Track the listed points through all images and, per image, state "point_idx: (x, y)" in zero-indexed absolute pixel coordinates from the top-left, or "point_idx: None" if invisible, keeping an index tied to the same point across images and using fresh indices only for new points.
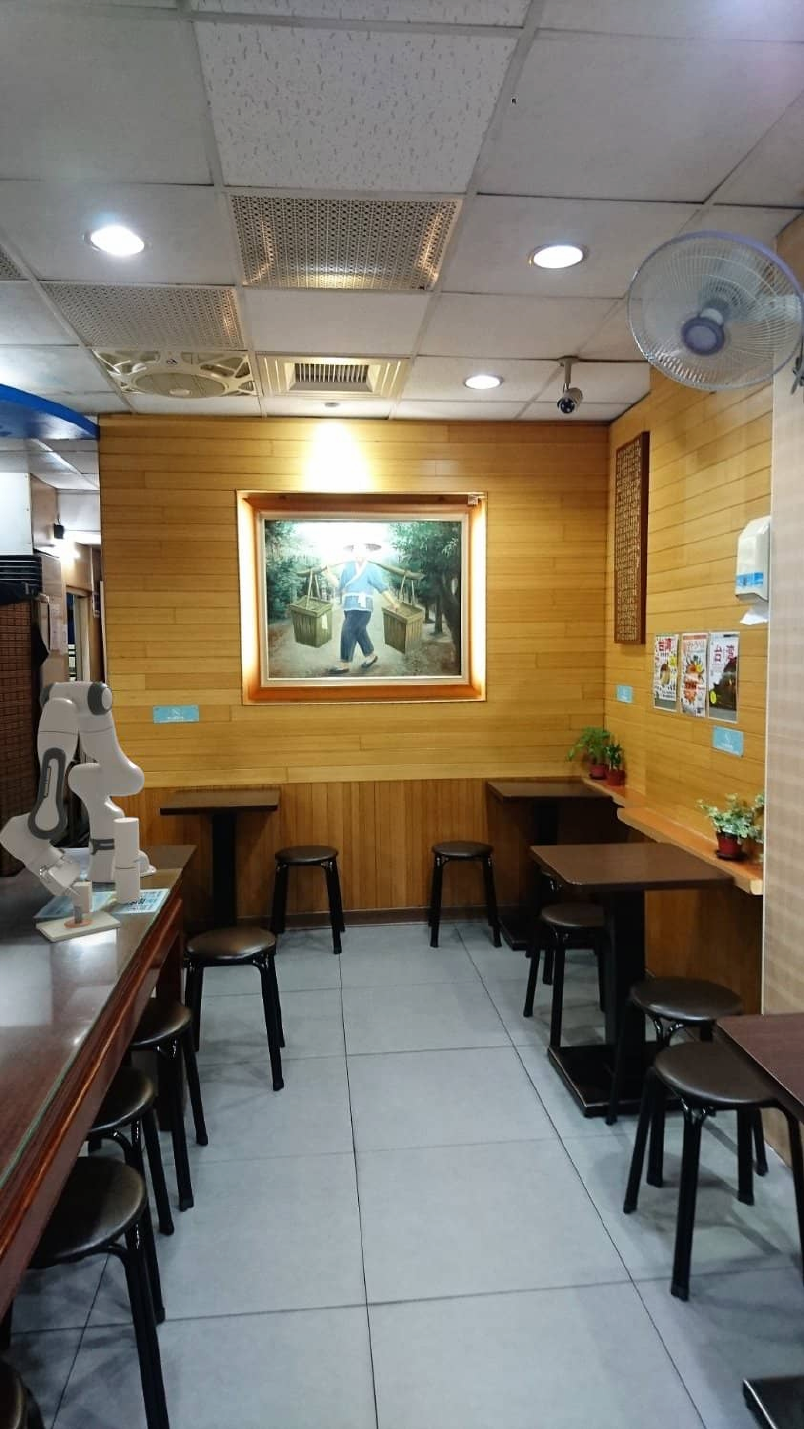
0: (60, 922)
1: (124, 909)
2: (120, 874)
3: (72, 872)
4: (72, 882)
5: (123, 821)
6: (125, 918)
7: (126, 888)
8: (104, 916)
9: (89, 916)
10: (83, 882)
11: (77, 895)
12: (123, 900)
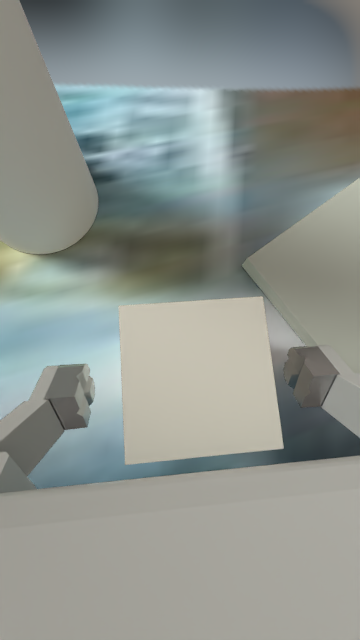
0: None
1: (180, 190)
2: (8, 57)
3: (86, 617)
4: (322, 459)
5: None
6: (295, 162)
7: (71, 135)
8: (336, 223)
9: (338, 288)
10: (147, 379)
11: (341, 362)
12: (92, 201)
